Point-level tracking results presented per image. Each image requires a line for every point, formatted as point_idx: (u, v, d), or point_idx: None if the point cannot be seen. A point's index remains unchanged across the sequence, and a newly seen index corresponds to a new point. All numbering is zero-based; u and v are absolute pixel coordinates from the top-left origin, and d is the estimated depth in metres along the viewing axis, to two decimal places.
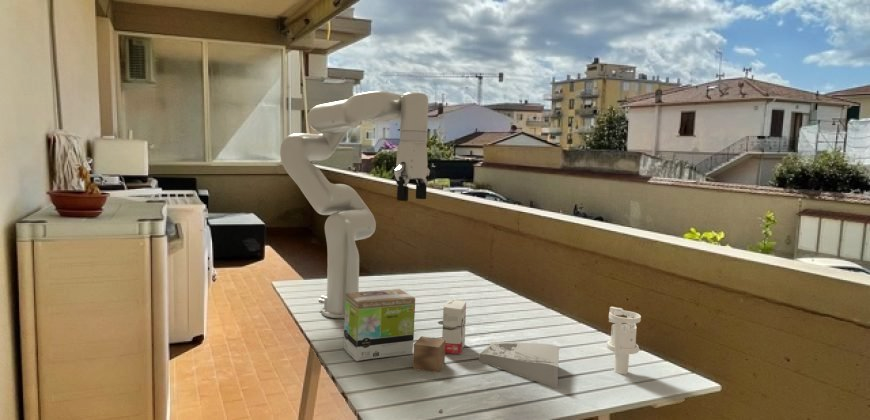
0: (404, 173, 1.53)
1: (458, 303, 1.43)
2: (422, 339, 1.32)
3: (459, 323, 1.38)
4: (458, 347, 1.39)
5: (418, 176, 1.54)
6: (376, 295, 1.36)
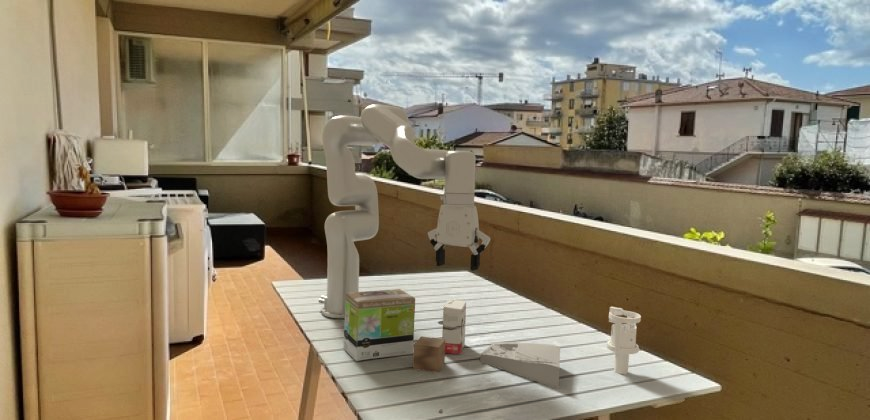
0: None
1: (458, 303, 1.43)
2: (422, 339, 1.32)
3: (459, 323, 1.38)
4: (458, 347, 1.39)
5: None
6: (376, 295, 1.36)
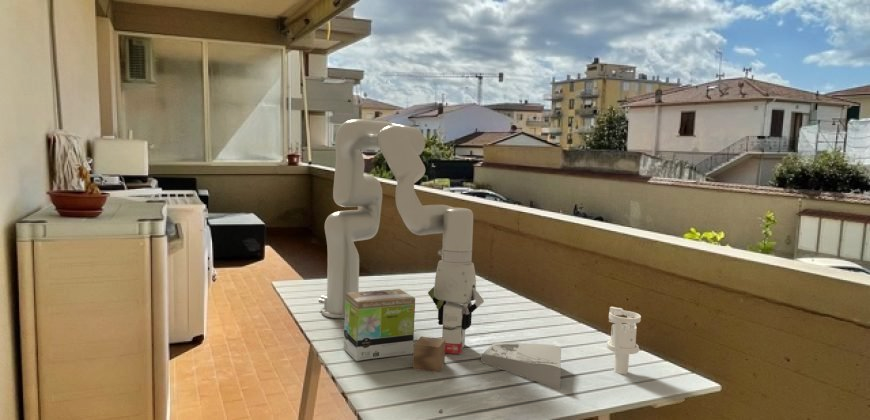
0: None
1: (458, 303, 1.43)
2: (422, 339, 1.32)
3: (459, 323, 1.38)
4: (458, 347, 1.39)
5: None
6: (376, 295, 1.36)
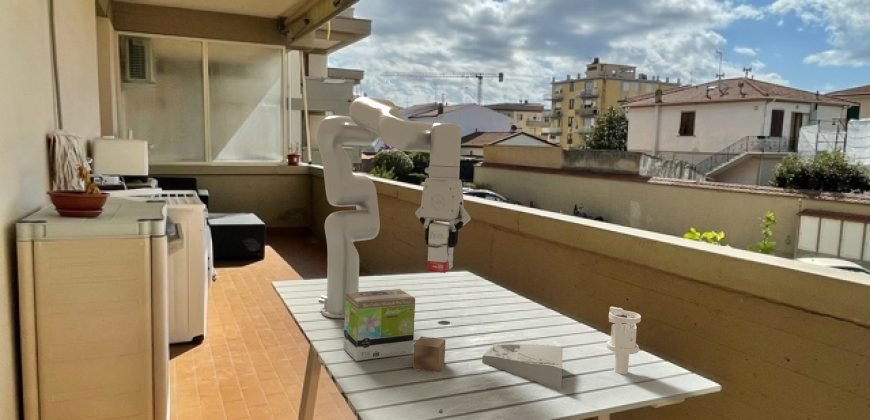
0: None
1: (446, 223, 1.40)
2: (422, 339, 1.32)
3: (445, 241, 1.35)
4: (443, 265, 1.36)
5: None
6: (376, 295, 1.36)
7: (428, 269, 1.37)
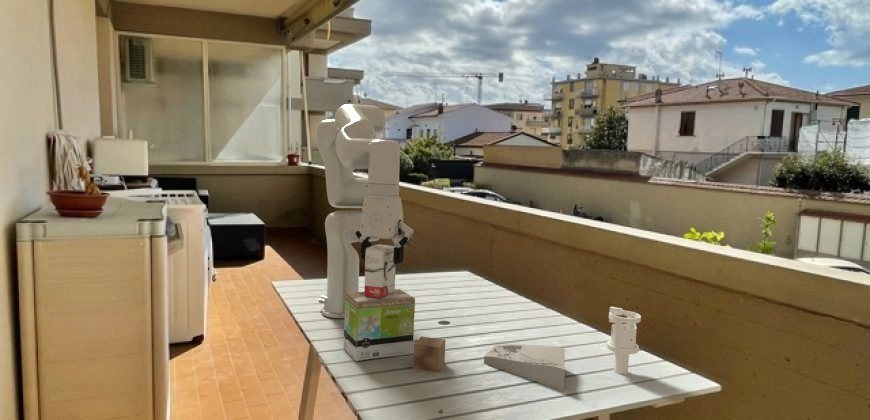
0: None
1: (385, 247, 1.38)
2: (422, 339, 1.32)
3: (381, 265, 1.33)
4: (380, 290, 1.33)
5: None
6: None
7: (365, 294, 1.34)
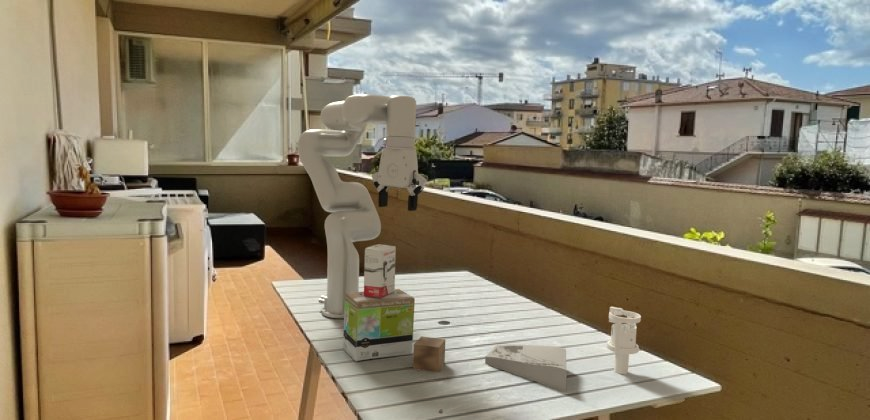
0: None
1: (385, 247, 1.38)
2: (422, 339, 1.32)
3: (380, 265, 1.32)
4: (379, 290, 1.33)
5: None
6: None
7: (364, 294, 1.34)
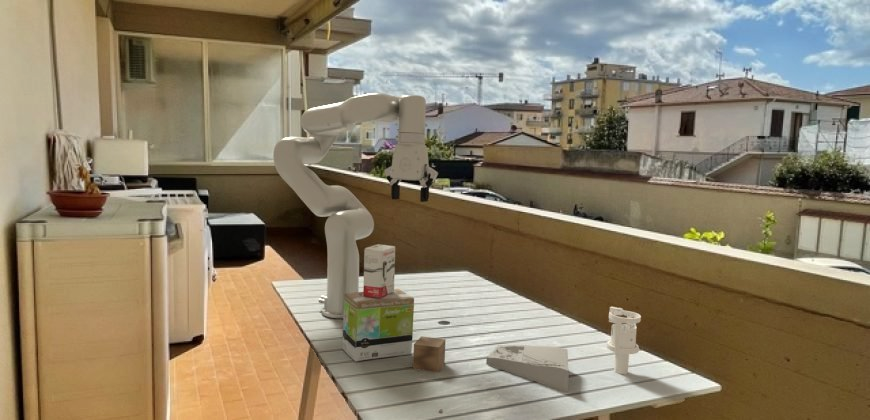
0: None
1: (384, 247, 1.37)
2: (422, 339, 1.32)
3: (380, 265, 1.32)
4: (379, 291, 1.33)
5: None
6: None
7: (364, 294, 1.34)
